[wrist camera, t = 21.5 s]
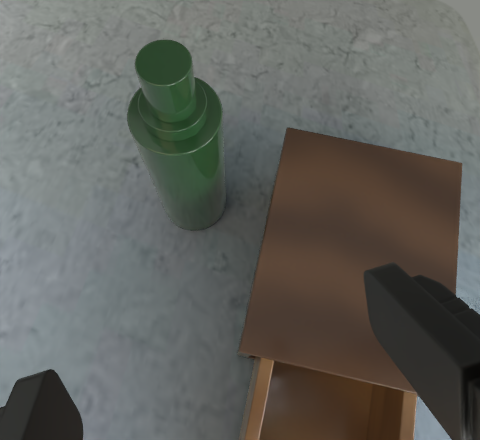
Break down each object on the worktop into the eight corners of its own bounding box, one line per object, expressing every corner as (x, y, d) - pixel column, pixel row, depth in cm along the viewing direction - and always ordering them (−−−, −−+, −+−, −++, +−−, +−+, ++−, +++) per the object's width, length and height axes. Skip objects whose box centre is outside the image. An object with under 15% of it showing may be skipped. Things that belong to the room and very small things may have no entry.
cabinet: (391, 392, 30) (451, 402, 22) (236, 355, 31) (238, 351, 23) (409, 209, 35) (462, 162, 27) (274, 181, 36) (287, 126, 27)
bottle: (232, 180, 36) (232, 28, 19) (217, 237, 34) (204, 121, 18) (173, 167, 36) (126, 8, 20) (156, 223, 34) (89, 97, 18)
